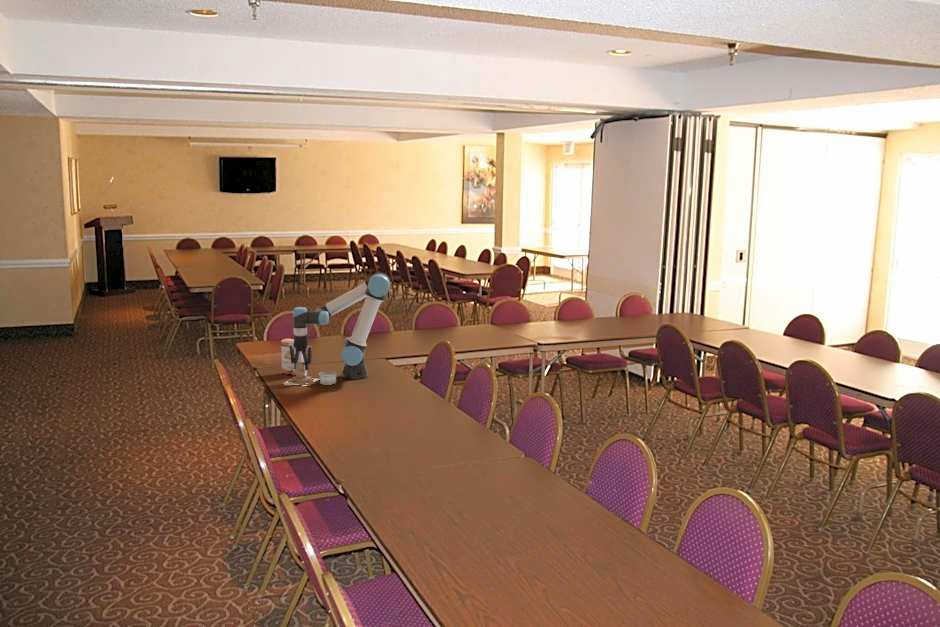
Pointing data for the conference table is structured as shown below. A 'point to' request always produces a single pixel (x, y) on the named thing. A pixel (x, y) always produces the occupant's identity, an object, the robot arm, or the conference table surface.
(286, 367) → the cracker box
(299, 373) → the lid
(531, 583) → the conference table surface
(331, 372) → the bowl
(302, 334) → the robot arm
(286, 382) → the mat
